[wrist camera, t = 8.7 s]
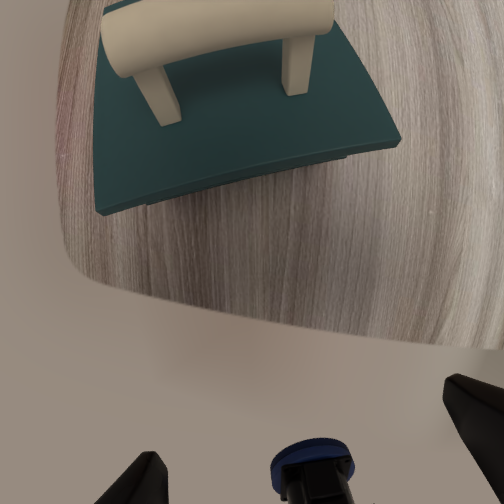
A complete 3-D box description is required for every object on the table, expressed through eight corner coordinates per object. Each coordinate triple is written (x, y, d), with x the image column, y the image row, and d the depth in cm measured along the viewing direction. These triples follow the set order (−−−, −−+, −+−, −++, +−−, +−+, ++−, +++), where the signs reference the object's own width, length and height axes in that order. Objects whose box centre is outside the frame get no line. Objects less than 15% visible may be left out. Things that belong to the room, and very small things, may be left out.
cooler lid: (396, 147, 9) (465, 43, 4) (103, 217, 9) (-3, 147, 4) (292, -28, 12) (293, -103, 7) (107, 15, 12) (73, -54, 7)
